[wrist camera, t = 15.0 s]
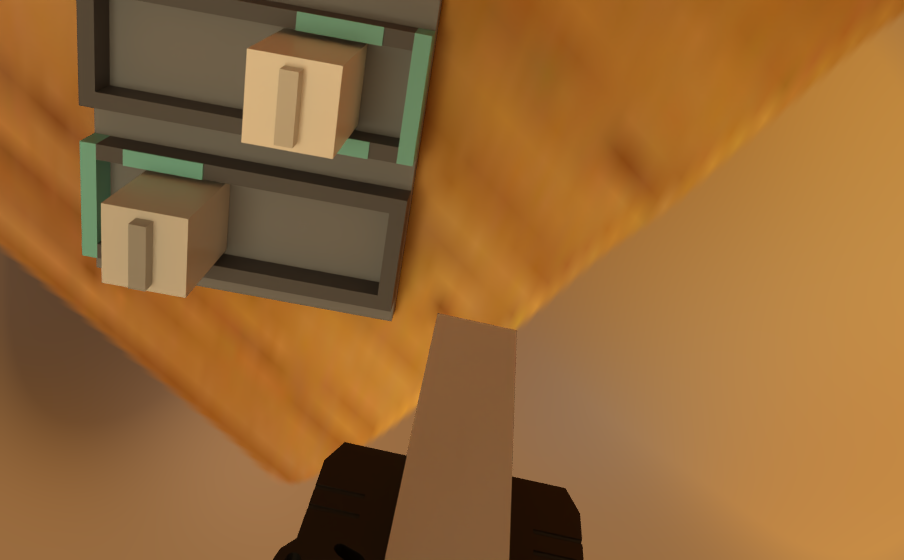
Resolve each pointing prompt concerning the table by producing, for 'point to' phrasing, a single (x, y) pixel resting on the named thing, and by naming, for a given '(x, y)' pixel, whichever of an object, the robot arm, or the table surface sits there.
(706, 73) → the table surface
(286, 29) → the beige rectangular block
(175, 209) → the beige handled cube
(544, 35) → the table surface
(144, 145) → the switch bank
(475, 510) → the robot arm
